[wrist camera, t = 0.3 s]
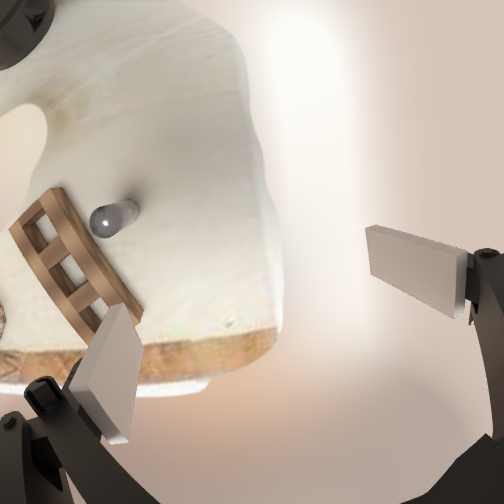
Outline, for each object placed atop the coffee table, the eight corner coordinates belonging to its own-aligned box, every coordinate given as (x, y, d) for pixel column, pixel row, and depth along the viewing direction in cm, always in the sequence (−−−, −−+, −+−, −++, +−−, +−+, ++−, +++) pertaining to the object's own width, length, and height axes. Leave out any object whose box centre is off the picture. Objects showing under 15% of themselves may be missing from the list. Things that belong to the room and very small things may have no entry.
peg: (113, 208, 36) (84, 218, 24) (131, 195, 36) (107, 199, 24) (125, 226, 37) (100, 244, 25) (143, 214, 37) (124, 226, 25)
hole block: (21, 224, 33) (8, 229, 29) (61, 187, 33) (49, 188, 29) (100, 338, 39) (93, 352, 35) (143, 310, 40) (139, 322, 36)
